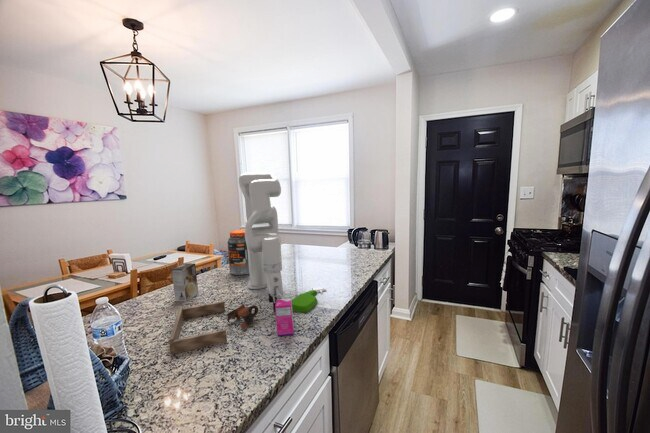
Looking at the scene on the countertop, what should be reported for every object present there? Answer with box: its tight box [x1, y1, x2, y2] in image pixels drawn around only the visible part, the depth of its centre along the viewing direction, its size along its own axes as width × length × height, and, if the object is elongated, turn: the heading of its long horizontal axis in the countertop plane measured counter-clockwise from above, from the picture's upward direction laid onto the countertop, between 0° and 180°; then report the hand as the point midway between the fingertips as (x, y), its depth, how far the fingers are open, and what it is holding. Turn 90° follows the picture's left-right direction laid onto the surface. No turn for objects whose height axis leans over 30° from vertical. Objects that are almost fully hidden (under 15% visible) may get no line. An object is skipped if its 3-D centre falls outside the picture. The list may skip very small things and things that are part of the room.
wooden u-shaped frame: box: [168, 300, 228, 355], centre depth 102 cm, size 17×26×5 cm, turn 22°
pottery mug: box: [226, 304, 259, 330], centre depth 106 cm, size 12×10×8 cm
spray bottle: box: [292, 286, 328, 313], centre depth 124 cm, size 3×11×24 cm
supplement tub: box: [227, 229, 249, 276], centre depth 169 cm, size 16×16×26 cm
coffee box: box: [171, 262, 199, 302], centre depth 132 cm, size 9×6×16 cm
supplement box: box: [274, 297, 295, 337], centre depth 97 cm, size 6×6×12 cm
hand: (275, 306), depth 112 cm, fingers open, 9 cm apart
